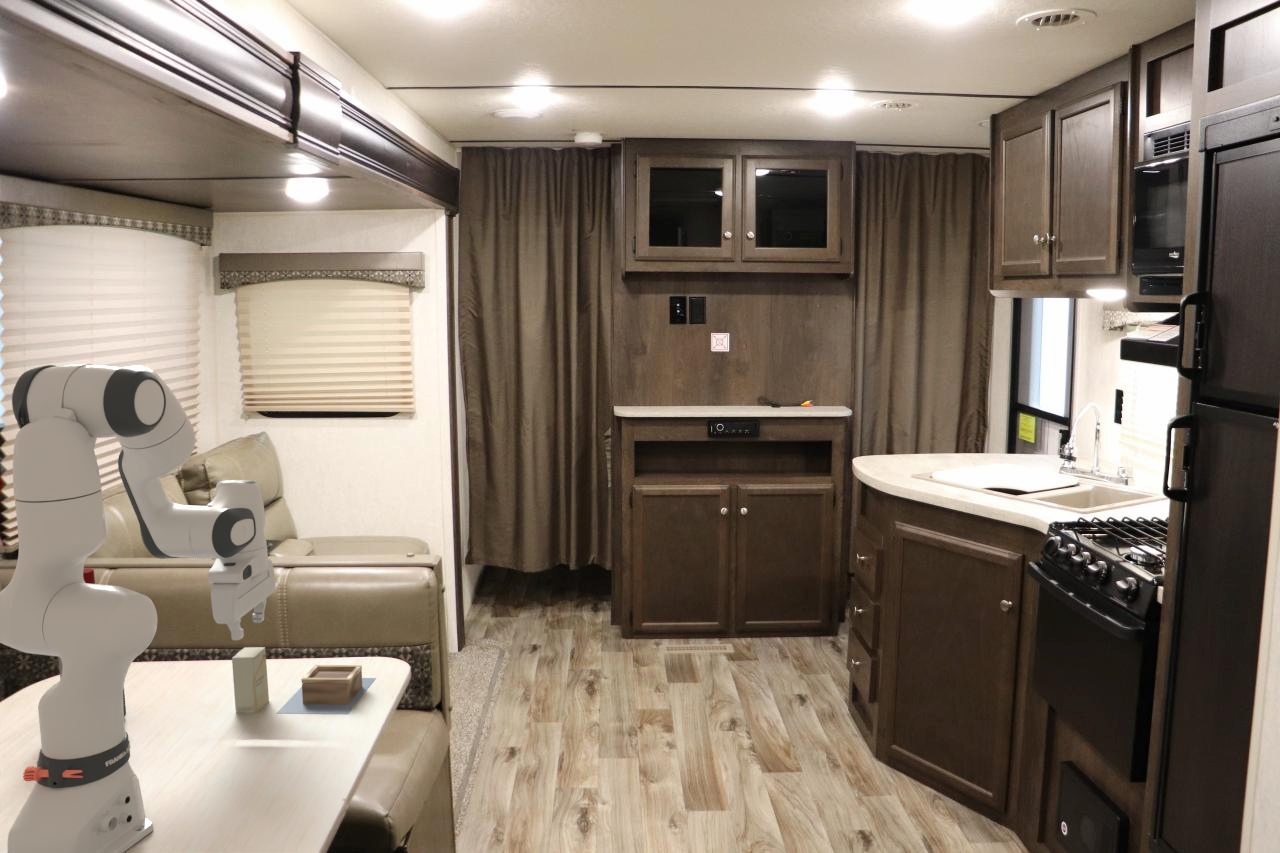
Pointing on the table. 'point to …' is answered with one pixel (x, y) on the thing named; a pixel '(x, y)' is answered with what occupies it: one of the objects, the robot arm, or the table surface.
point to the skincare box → (250, 680)
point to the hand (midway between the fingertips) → (248, 630)
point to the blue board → (298, 707)
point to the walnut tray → (331, 684)
